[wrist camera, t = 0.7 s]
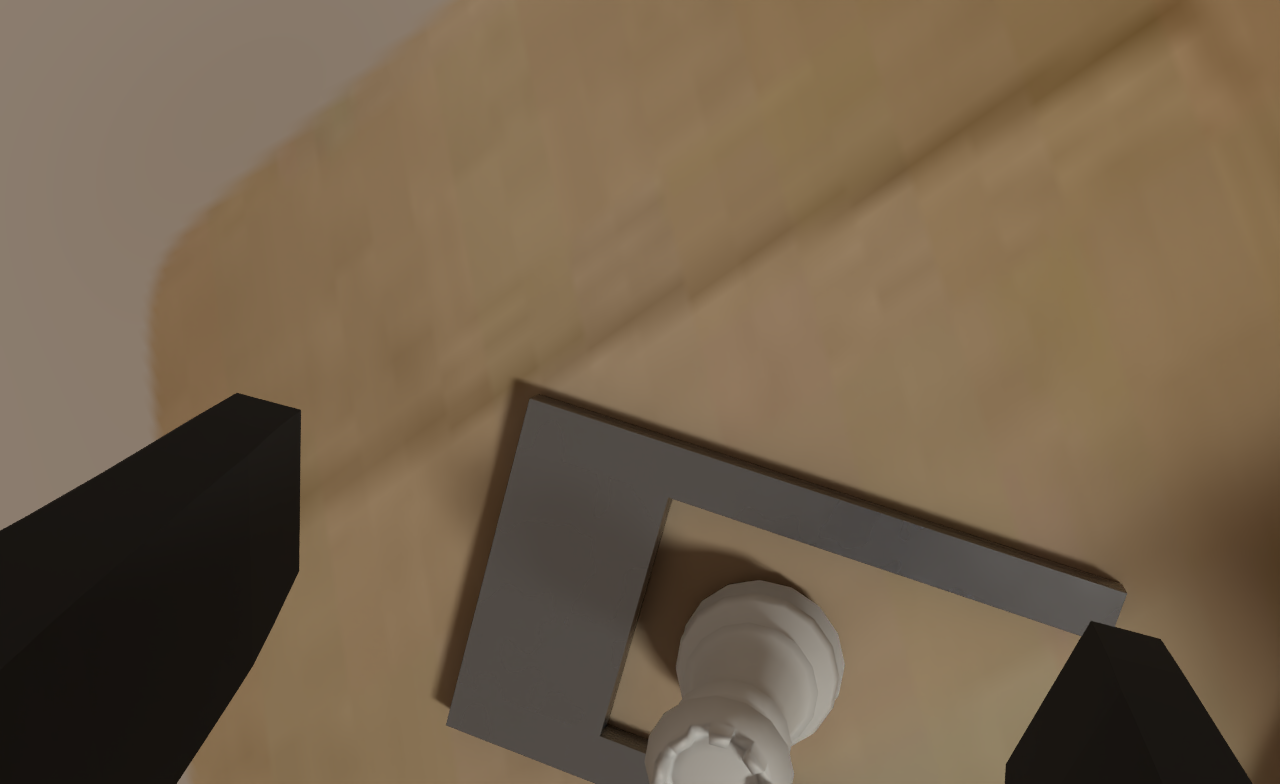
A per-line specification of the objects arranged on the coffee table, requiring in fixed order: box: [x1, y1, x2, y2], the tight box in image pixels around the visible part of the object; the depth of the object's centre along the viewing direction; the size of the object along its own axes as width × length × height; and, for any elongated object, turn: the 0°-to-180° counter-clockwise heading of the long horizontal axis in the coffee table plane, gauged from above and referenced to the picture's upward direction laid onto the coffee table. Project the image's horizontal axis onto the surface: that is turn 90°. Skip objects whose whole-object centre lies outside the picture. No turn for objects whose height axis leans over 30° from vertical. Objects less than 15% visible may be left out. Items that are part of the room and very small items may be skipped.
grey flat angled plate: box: [446, 394, 1127, 784], centre depth 32 cm, size 10×16×1 cm, turn 74°
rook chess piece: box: [645, 580, 845, 784], centre depth 28 cm, size 4×4×8 cm
